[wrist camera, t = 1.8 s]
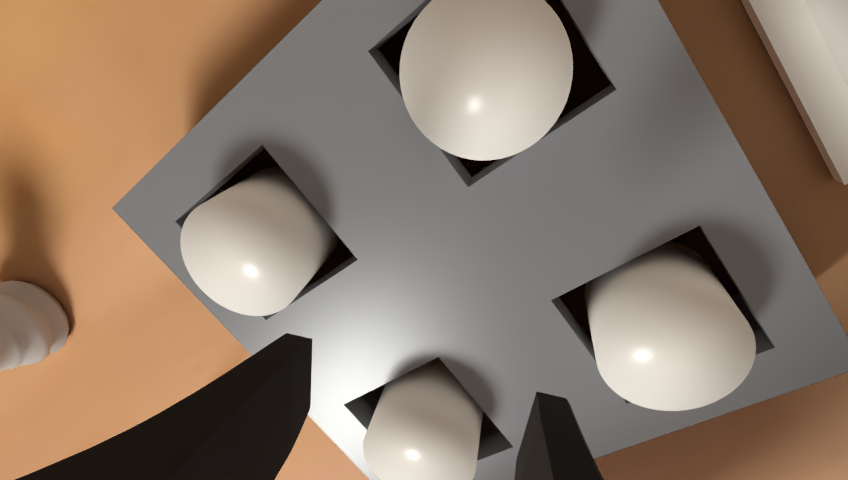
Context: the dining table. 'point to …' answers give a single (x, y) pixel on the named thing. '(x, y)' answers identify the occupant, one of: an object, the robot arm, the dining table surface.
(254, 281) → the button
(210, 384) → the robot arm
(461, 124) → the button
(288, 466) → the dining table surface
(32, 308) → the rook chess piece
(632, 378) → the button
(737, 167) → the button board
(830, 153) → the pattern card
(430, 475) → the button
